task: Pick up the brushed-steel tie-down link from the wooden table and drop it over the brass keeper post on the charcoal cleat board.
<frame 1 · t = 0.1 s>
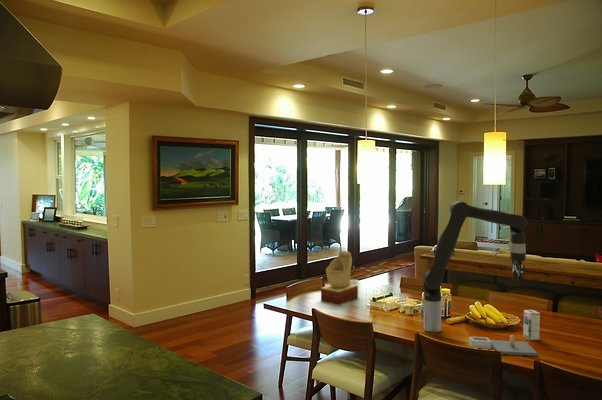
hand: (517, 281, 234), 29 cm above the table, fingers open, 8 cm apart
syrup box: (531, 338, 228), on the table
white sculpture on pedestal: (340, 299, 310), on the table
steel link: (479, 346, 216), on the table
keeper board: (512, 349, 212), on the table
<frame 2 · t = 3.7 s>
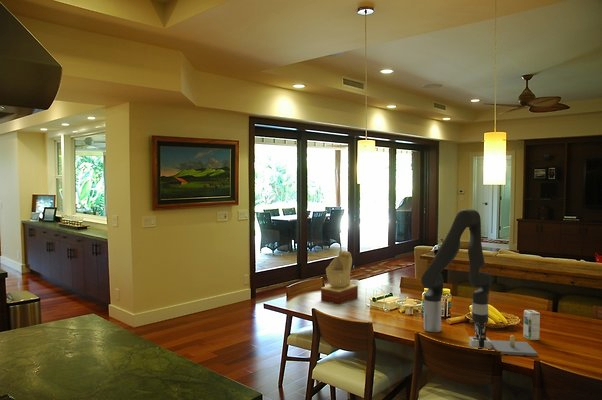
hand: (480, 344, 216), 1 cm above the table, fingers closed on steel link, 6 cm apart
steel link: (479, 346, 216), on the table, touching gripper
everything else where it was.
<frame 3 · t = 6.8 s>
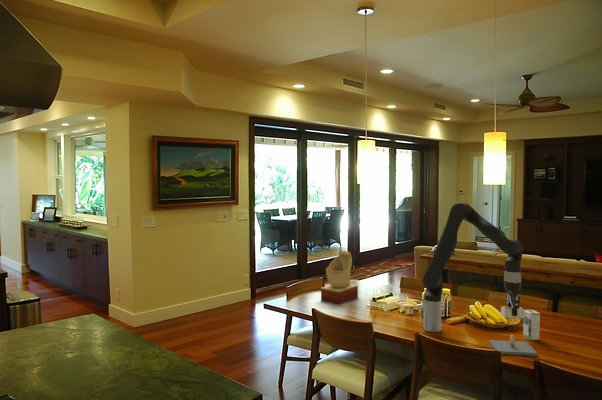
hand: (512, 313, 212), 18 cm above the table, fingers closed on steel link, 6 cm apart
steel link: (512, 316, 212), point 17 cm above the table, touching gripper
everything else where it was.
when the fingers open (4 cm above the table, at t = 9.9 s): steel link drops 1 cm, resting on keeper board.
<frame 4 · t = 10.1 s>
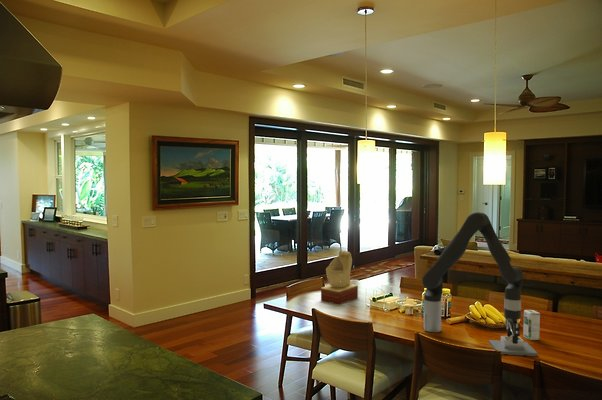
hand: (512, 340, 212), 4 cm above the table, fingers open, 8 cm apart
steel link: (512, 346, 212), point 1 cm above the table, touching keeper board
everything else where it was.
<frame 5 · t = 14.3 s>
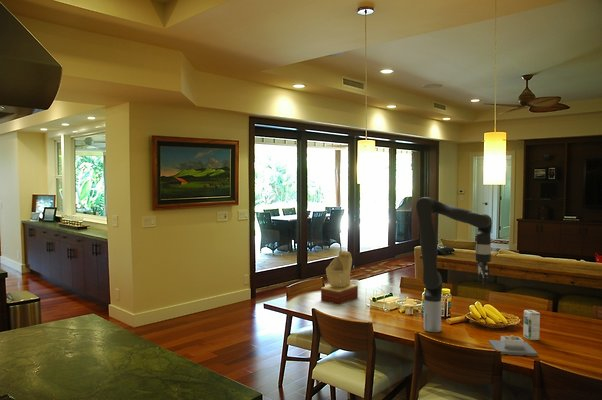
hand: (483, 283, 225), 30 cm above the table, fingers open, 8 cm apart
nothing on the table moved.
at the end: steel link 0.1 cm from the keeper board (horizontally); steel link point 1.5 cm above the table; the gripper is holding nothing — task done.
